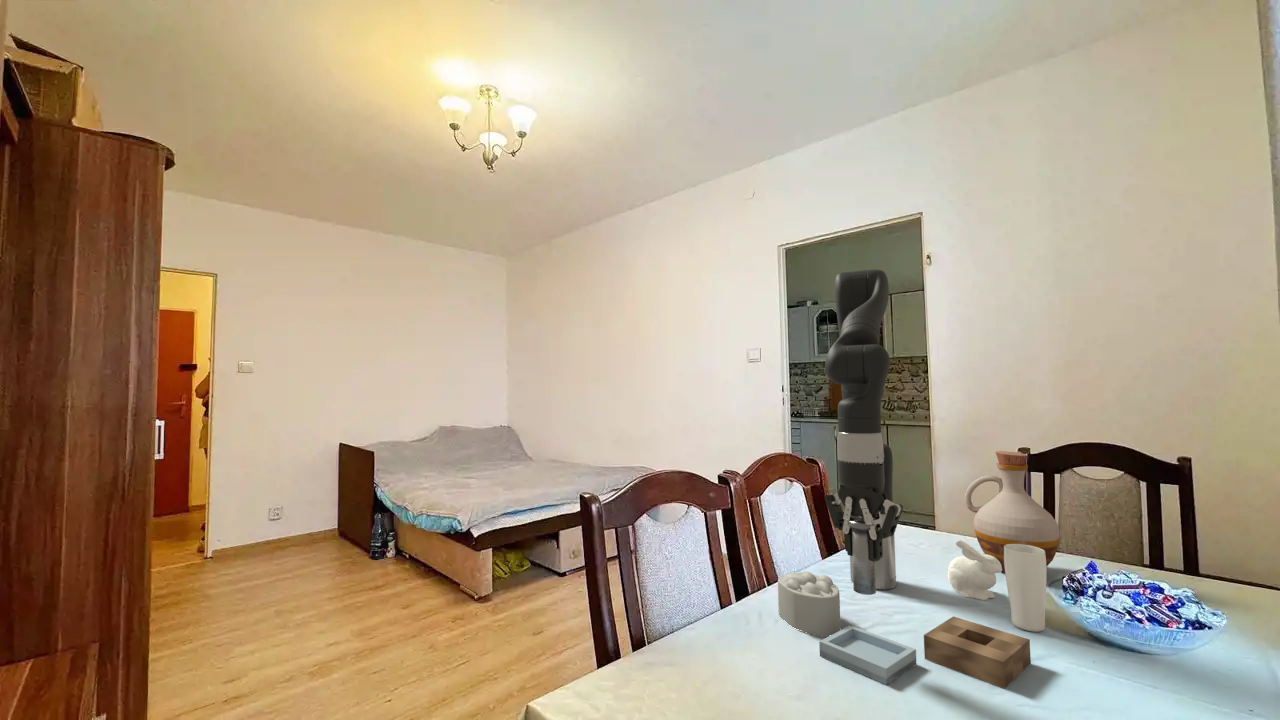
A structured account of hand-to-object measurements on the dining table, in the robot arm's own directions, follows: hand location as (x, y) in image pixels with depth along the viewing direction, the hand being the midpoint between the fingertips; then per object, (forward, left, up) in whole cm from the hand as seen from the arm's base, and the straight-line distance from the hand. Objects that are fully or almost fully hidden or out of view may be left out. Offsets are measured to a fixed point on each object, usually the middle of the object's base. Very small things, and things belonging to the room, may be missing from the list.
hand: (863, 557), depth 93 cm
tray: (0, 0, -17) cm, 17 cm away
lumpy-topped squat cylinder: (-15, +6, -18) cm, 24 cm away
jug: (0, +70, -18) cm, 72 cm away
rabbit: (0, +46, -18) cm, 49 cm away
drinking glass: (+13, +36, -18) cm, 42 cm away
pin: (0, 0, -6) cm, 6 cm away
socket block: (+12, +14, -17) cm, 25 cm away
